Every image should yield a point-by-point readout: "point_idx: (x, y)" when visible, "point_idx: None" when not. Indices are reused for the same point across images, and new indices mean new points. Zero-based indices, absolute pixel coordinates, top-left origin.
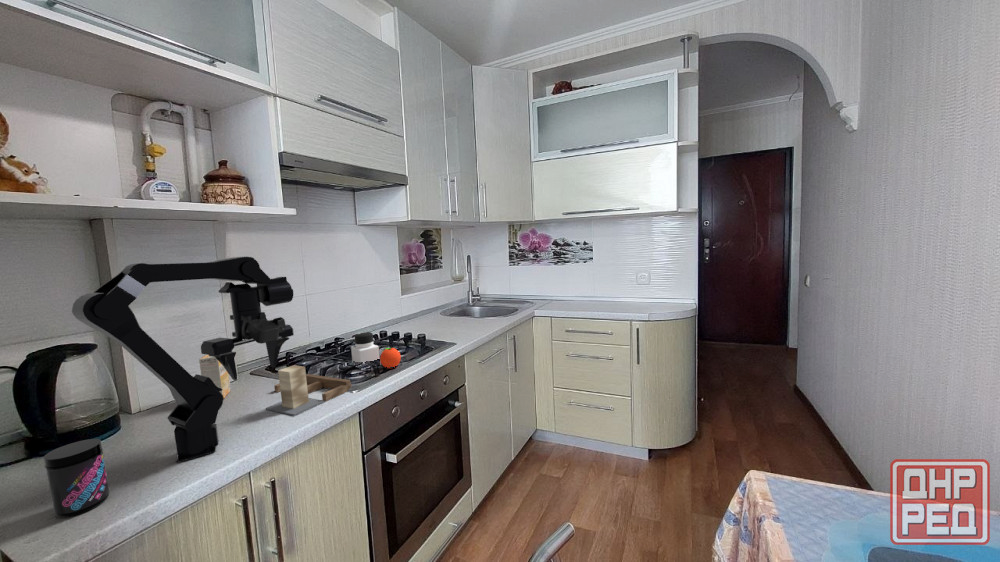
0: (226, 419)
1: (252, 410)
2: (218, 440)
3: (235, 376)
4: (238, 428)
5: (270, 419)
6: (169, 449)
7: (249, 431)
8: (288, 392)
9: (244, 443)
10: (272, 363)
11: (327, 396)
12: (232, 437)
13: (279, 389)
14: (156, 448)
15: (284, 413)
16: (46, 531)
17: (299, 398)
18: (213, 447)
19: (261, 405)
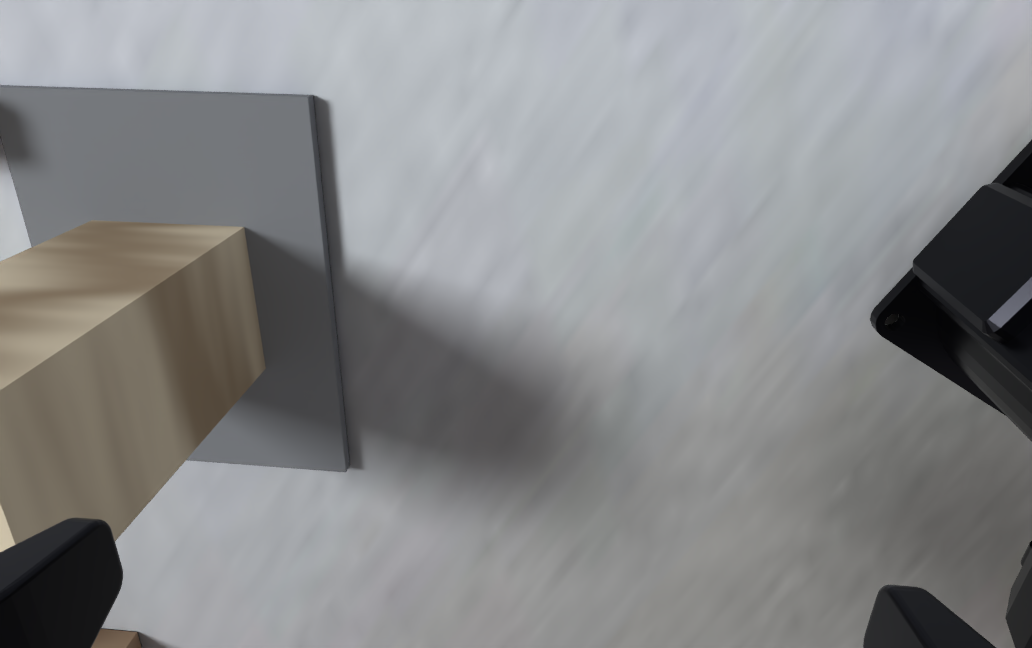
0: (569, 577)
1: (403, 540)
2: (931, 247)
3: (964, 636)
4: (650, 363)
5: (448, 260)
6: (1017, 518)
7: (665, 221)
8: (172, 333)
9: (856, 29)
10: (56, 607)
11: None
12: (783, 257)
13: (114, 645)
14: None
15: (327, 243)
16: None
17: (137, 246)
18: (1019, 186)
19: (322, 554)
